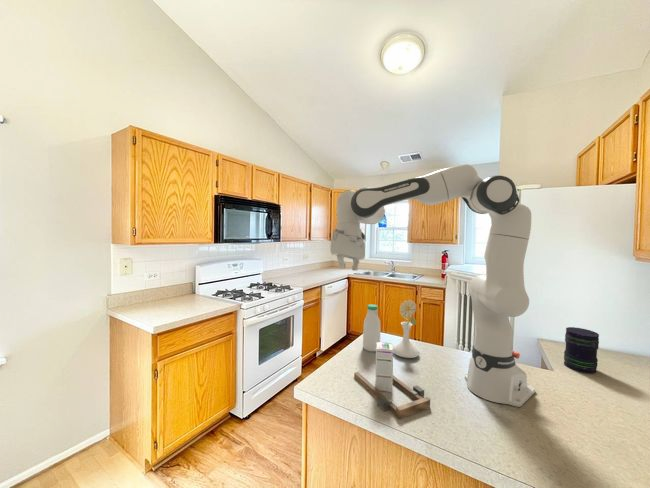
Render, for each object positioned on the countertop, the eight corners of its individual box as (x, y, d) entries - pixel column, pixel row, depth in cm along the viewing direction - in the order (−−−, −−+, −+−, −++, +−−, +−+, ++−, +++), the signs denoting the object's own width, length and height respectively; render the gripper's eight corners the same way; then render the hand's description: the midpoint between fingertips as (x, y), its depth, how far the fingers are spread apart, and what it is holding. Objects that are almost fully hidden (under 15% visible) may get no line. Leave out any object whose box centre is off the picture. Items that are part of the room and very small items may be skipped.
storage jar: (561, 366, 110) (563, 330, 109) (565, 359, 116) (567, 325, 116) (596, 377, 102) (598, 338, 102) (598, 368, 109) (600, 332, 108)
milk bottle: (380, 352, 120) (381, 308, 119) (362, 351, 121) (363, 307, 120) (379, 345, 127) (380, 303, 126) (363, 344, 129) (364, 302, 128)
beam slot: (385, 368, 106) (385, 362, 106) (434, 405, 84) (435, 398, 84) (349, 377, 99) (349, 371, 99) (393, 420, 77) (393, 412, 77)
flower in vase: (388, 349, 123) (389, 295, 122) (411, 348, 125) (413, 294, 124) (401, 363, 110) (403, 303, 109) (426, 361, 112) (428, 302, 111)
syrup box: (392, 392, 90) (393, 350, 90) (374, 390, 92) (375, 348, 91) (391, 383, 96) (393, 343, 95) (375, 380, 97) (376, 341, 97)
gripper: (341, 226, 92) (341, 266, 90) (367, 236, 109) (368, 271, 106) (326, 228, 96) (326, 267, 93) (353, 238, 113) (354, 271, 110)
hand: (348, 269), depth 100 cm, fingers open, 8 cm apart
